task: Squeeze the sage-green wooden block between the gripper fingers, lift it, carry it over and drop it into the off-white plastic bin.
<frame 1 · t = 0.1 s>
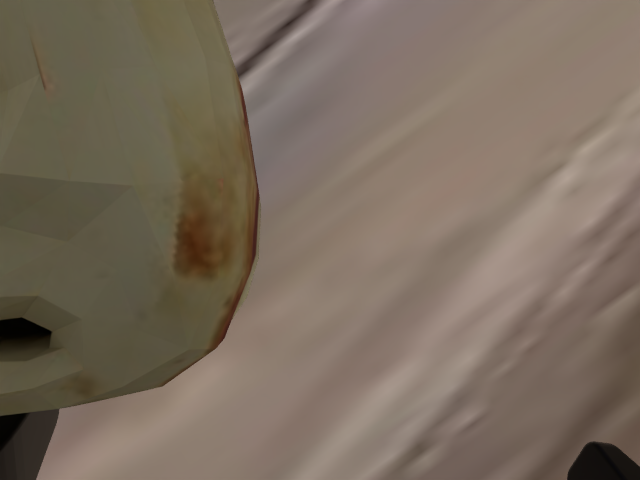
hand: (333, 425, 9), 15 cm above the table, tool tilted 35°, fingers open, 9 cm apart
food model: (167, 201, 24), on the table
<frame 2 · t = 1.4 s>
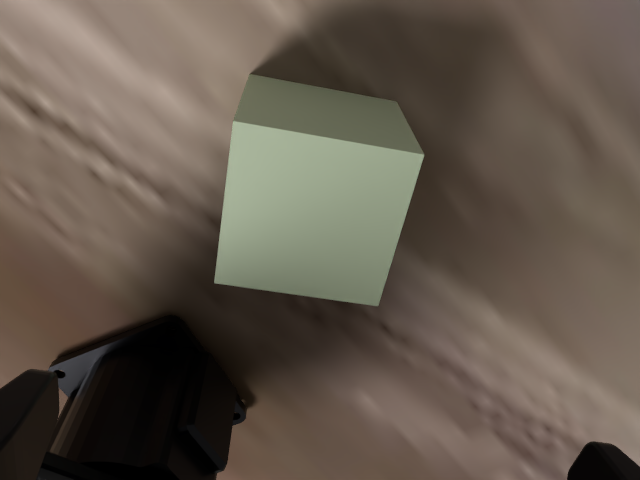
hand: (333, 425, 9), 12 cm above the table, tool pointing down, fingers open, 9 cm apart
green block: (310, 156, 20), on the table
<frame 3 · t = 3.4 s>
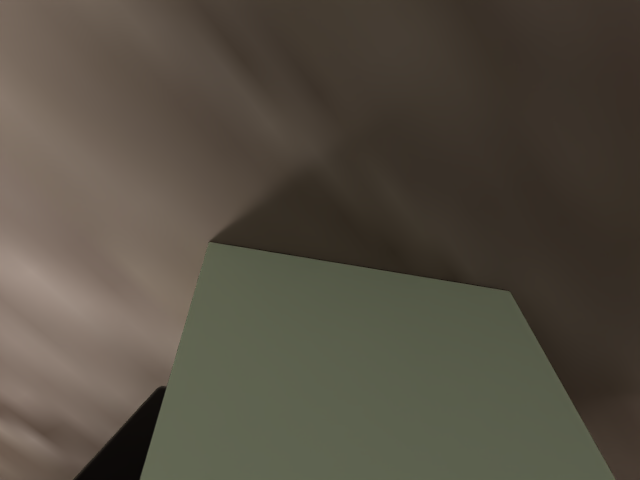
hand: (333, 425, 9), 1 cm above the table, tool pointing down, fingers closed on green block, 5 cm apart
green block: (331, 379, 10), on the table, touching gripper
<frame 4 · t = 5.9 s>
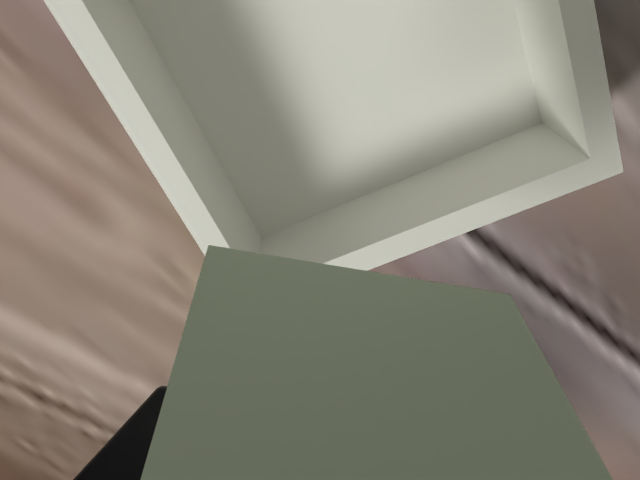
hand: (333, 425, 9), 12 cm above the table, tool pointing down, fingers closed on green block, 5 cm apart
bin: (337, 35, 17), on the table
green block: (330, 382, 10), point 11 cm above the table, touching gripper
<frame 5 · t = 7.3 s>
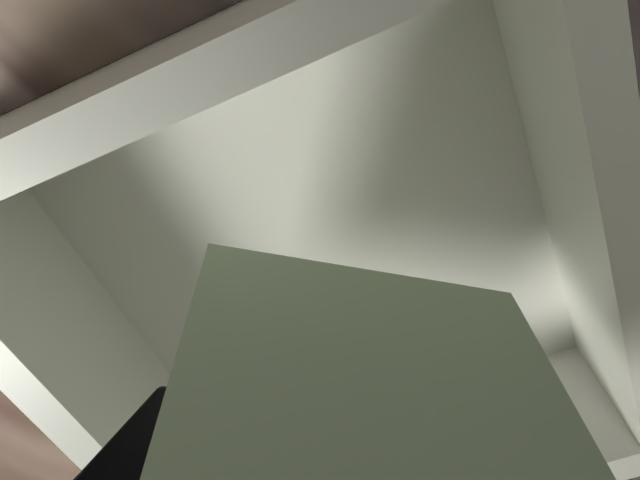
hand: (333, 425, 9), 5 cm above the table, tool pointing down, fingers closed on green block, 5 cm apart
bin: (324, 251, 14), on the table
green block: (331, 381, 10), point 4 cm above the table, touching gripper
when the fingers open (3 cm above the table, at t = 8.6 s): green block drops 1 cm, resting on bin.
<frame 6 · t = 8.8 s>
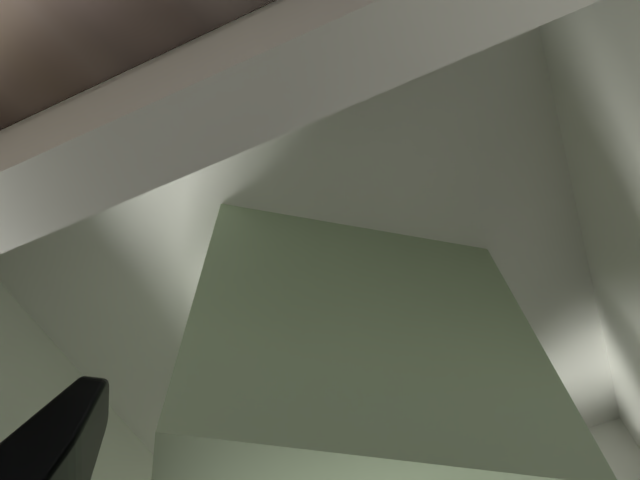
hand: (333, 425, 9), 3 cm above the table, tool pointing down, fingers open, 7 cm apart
bin: (327, 312, 12), on the table
green block: (329, 332, 11), point 1 cm above the table, touching bin
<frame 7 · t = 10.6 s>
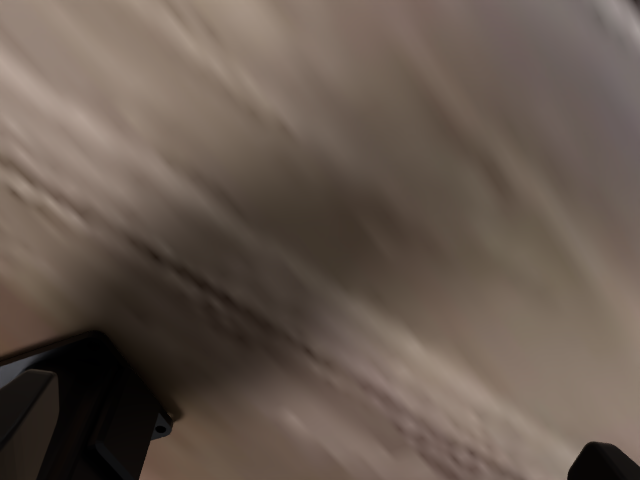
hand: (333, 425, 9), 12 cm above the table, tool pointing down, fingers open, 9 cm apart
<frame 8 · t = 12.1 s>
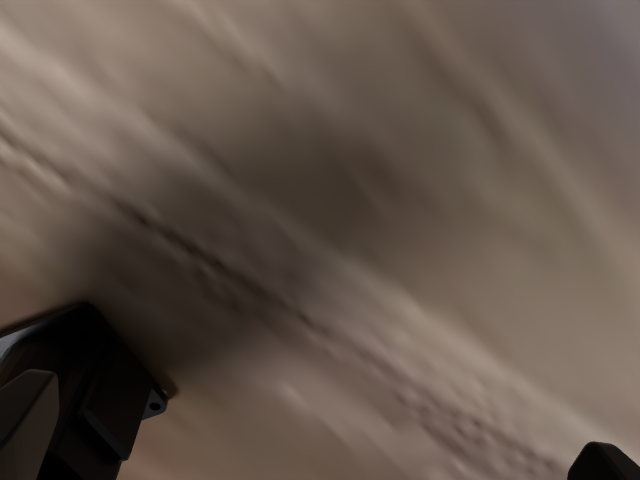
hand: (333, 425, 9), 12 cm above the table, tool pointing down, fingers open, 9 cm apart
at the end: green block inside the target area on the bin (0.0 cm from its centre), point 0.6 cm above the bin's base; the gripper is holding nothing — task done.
